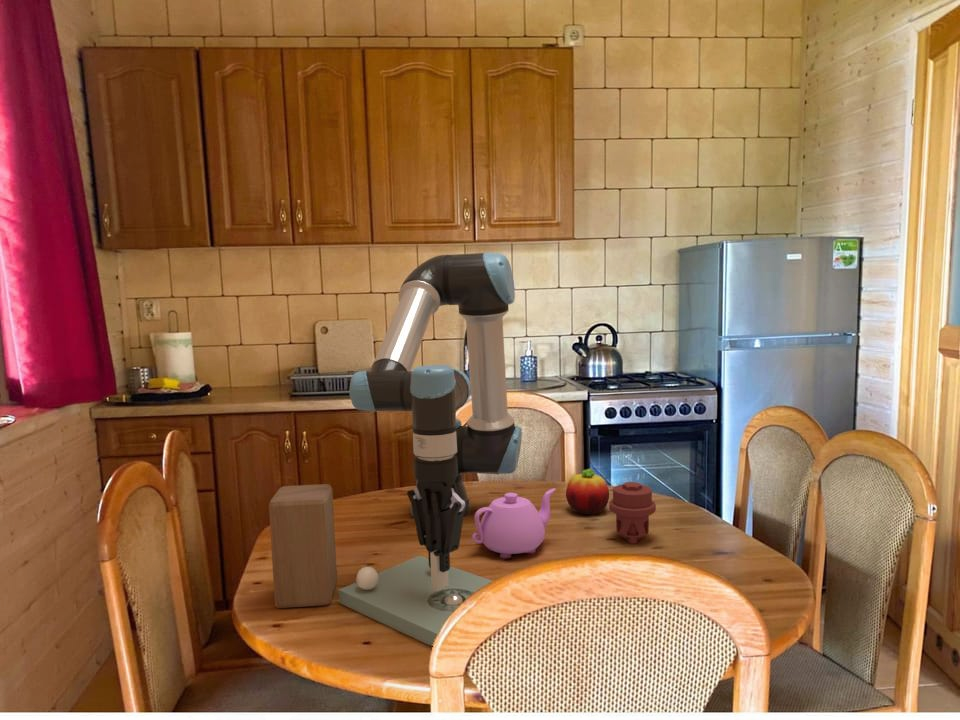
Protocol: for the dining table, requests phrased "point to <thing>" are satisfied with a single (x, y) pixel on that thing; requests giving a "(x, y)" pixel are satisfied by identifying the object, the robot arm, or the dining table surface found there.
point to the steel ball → (453, 600)
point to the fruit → (587, 493)
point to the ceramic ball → (367, 578)
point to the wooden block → (303, 545)
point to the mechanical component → (632, 510)
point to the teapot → (512, 524)
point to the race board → (411, 598)
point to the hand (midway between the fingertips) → (440, 587)
